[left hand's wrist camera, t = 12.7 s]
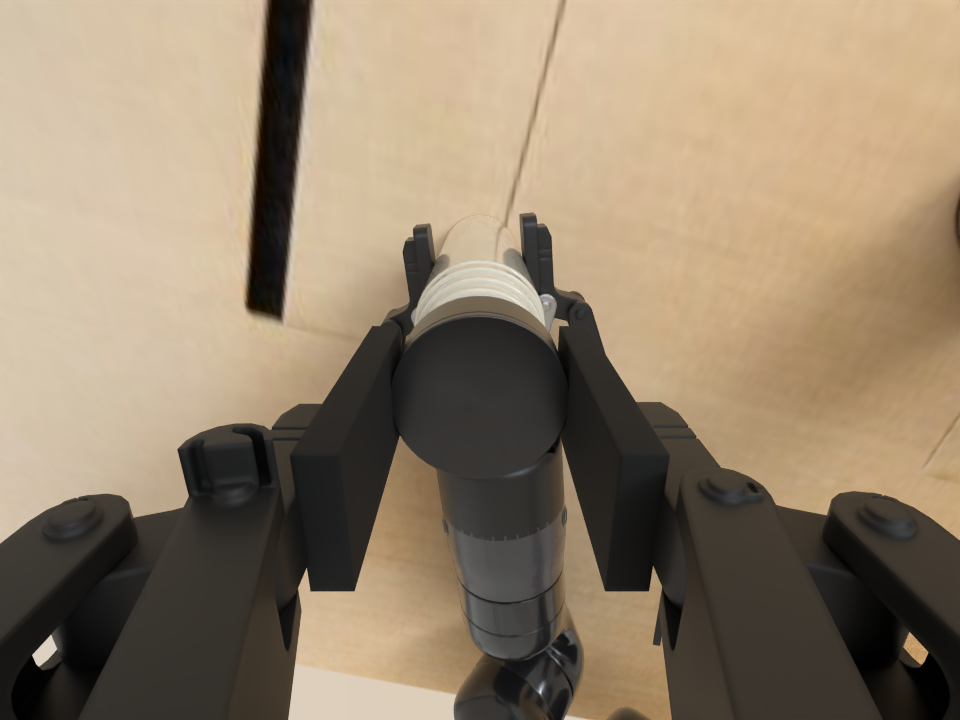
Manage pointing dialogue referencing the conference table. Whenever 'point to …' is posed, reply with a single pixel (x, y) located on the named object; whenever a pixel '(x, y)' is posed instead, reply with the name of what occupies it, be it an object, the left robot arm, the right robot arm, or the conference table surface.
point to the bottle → (479, 268)
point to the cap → (479, 388)
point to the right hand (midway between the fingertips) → (475, 221)
